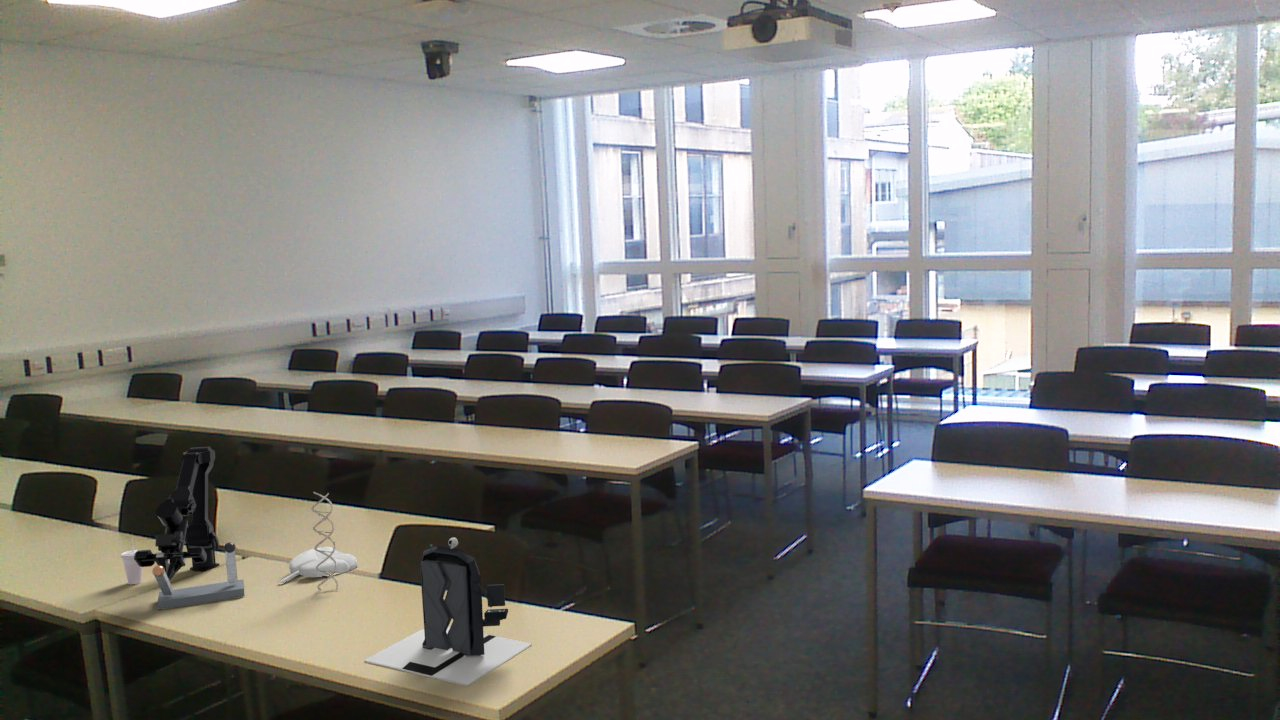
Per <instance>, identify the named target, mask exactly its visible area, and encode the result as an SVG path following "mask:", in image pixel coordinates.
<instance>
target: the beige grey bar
mask: <svg viewBox="0 0 1280 720" xmlns="http://www.w3.org/2000/svg"><path fill="white" fill-rule="evenodd" d="M236 548H237V547H236V545H235V543H234V542H227V543H225V544H224V546H223V550H224V553H225V554H224V555H225V566H226V568H225V569H226V578H227V582H228V583H229V584H231V583H235V582H238V580H239V579H238V570H237V568H238V567H237V562H236V560H237V559H236Z"/></svg>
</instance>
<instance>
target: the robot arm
mask: <svg viewBox="0 0 1280 720" xmlns="http://www.w3.org/2000/svg"><path fill="white" fill-rule="evenodd" d="M182 453H183V454H182V456H181V457H182V458H181V460H182V461H181V462H182V463H181V467H180V472H179V476H178V480H177V484H176V488H175V489H174V490H173V491H172V492H171V493H170V494H169V496H168V498H165V501H164V502H162V503H160V504H159V505H158V506H157V508H156V509H155V513H156V517H158V519H159V520H160V523H161V524H162V525H163V526H164V527H165V530H164V533H163V534H157V535H155V543H154V544H155V545H154V546H155V547H157V550H158V552H155V553H154V552H152V550H151V549H137V550H138V551H137V552H136V553H135V556H134V560H135V561H136V562H137V564H138V565H139V566H140V567H142V568H147V567H152V566H154V565H155V564H156V566H157V565H161V566H163V567H164V569H165V572H166V575H167V577H168V579H169V581H170V582H171V580H172V579H173V578H174V576H175V575H176V574H177V573H178V572H179V570H180V569H182V568H183V567H185V566H186V563H185V562H186V559H191V565H192V566H191V567H189V570H190V571H191V570H194V571H200V572H206V571H208V570H211V569H214V568H216V567H218V566H220V563H219V562H218V563H217V562H216V552H215V550H217V549H220V545H219V544H220V540H219V537H218V535H217V534H216V532H215V531H214V526H213V524H212V523H211V521H210V520H209V474H210V472H211V470H212V469H213V467H214V462H215V460H216V450H214V449H212V447H211V446H200V447H190V448H189V449H188V450H187V451H185V452H182ZM186 516H192V518H191V521H190V523H189V521H188V519H187V518H186ZM184 546H185V547H186V551H184Z"/></svg>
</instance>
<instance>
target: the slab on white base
mask: <svg viewBox="0 0 1280 720" xmlns="http://www.w3.org/2000/svg"><path fill="white" fill-rule="evenodd" d="M447 544H448V546H449V547H444V546H438V545H436V546H433V544H429V547H430V548H428V549H425V550H423V552H422V553H423V554H422V558H421V562H420V566H419V567H420V582H421V585H420V586H421V600H422V615H423V616H422V617H423V628H422V629H420V630H419V631H418V630H417V632H414V633H412V634H411V635H408V636H407V637H405V638H403V639H401V640H399V641H398V642H395V643H394V644H392V645H390V646H388V647H386V648H384V649H383V650H381V651H379V652H376V653H375V654H373V655H371V656H369V657H367V658H365V659H364V663H368V664H370V665H371V664H372V665H376V666H380V667H384V668H388V667H389V669H393V670H398V671H401V672H404V673H405V672H406V673H410V674H415V675H419V676H421V677H422V676H424V677H428V678H431V679H435V680H439V681H444V682H449V683H452V684H457V685H460V686H461V685H462V686H465V687H469V686H470V685H472V684H474V683H475V682H477V681H479V680H480V679H482V677H484V676H486V675H488V674H489V673H491V672H492V671H494V670H496V669H497V668H498V667H500V666H501V665H503V664H504V663H507V662H509V660H511V659H513V658H514V657H516V656H517V655H519V654H520V653H522V652H523V651H526V650H527V649H528V648H530V647H532V643H530V642H524V641H520V640H516V639H510V638H506V637H500V636H497V635H493V634H492V635H491V634H487V633H484V627H497V626H498V627H499V626H501V621H503V620H506V619H507V616H508V613H509V608H493V609H486V611H485V612H484V613H483V596H484V597H485V598H486V600H487V607H488V608H492V607H506V594H505V584H504V583H501V584H500V583H498V584H496V583H495V584H487V585H486V592H485V590H484V588H483V587H482V576H481V574H480V570H479V567H478V565H477V561H476V558H475V557H474V556H472V555H471V554H468V553H466V551H463V550H462V549H459V548H458V549H457V548H456V547H458V545H459V541H458V539H457V537H451V538H449V540H448V542H447ZM447 587H448V588H447ZM444 597H445V598H444ZM483 617H484V618H483ZM451 621H452V622H451ZM450 624H451V625H450Z"/></svg>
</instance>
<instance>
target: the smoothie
mask: <svg viewBox="0 0 1280 720" xmlns="http://www.w3.org/2000/svg"><path fill="white" fill-rule="evenodd" d="M130 540H131V550H127V551H124V552H122V553H121V554H120V558H121V559H122V563H123V567H124V571H125V574H126V579H127V583H128V585H129V584H130V585H131V584H135V585H139V584H141V583H142V581H143V567H140V566H139V565H138V564H137V562H136V561H135V560H134V556H135V553H136V552H137V551H138V550H139V549H135V544H134V543H135V542H134V538H130ZM138 583H139V584H138ZM131 586H132V585H131Z"/></svg>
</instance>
